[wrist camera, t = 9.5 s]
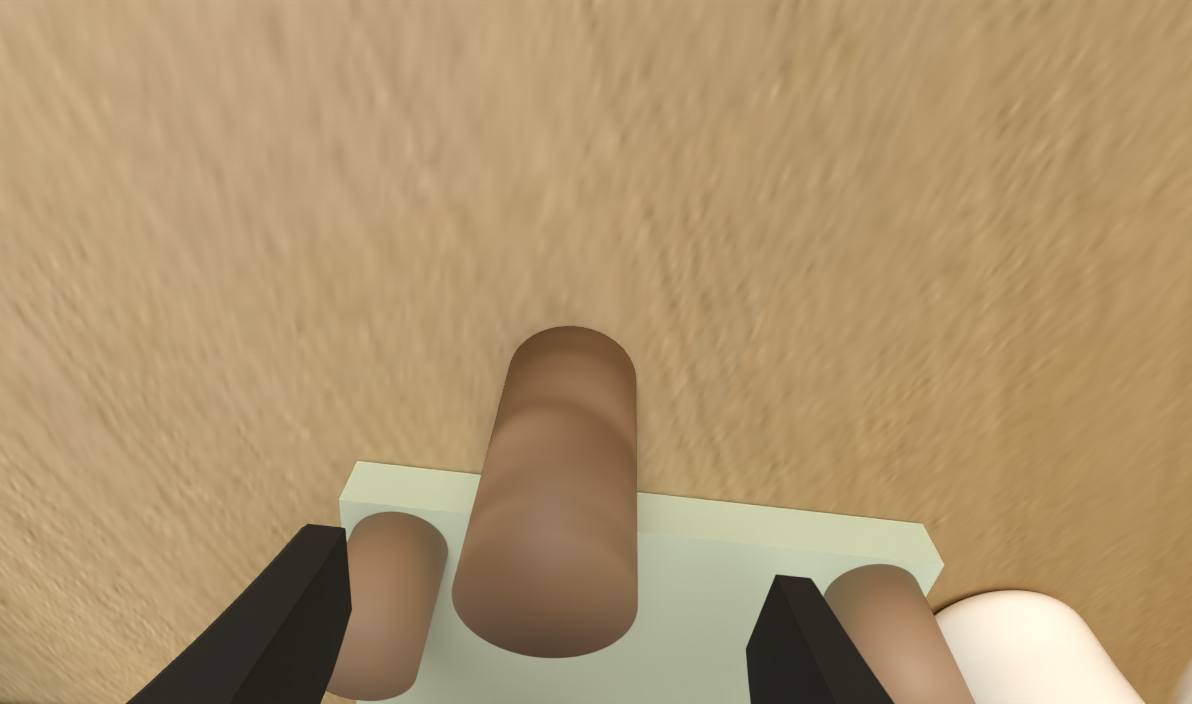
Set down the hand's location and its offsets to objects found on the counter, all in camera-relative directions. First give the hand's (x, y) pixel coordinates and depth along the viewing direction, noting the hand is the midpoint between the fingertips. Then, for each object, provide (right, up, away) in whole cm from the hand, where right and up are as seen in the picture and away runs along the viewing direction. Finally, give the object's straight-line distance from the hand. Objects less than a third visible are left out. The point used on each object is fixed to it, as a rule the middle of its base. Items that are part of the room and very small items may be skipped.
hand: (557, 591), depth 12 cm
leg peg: (0, +3, +6) cm, 7 cm away
